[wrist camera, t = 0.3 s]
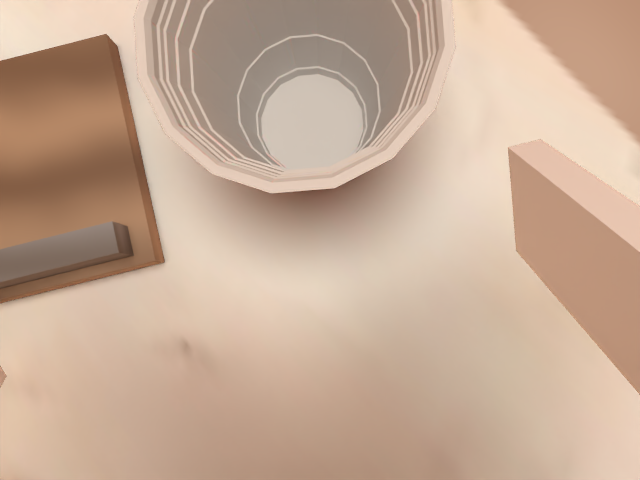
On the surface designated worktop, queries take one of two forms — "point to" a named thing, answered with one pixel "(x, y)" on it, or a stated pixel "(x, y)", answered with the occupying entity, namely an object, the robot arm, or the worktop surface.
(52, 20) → the worktop surface
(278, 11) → the plastic cup
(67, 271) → the walnut board
